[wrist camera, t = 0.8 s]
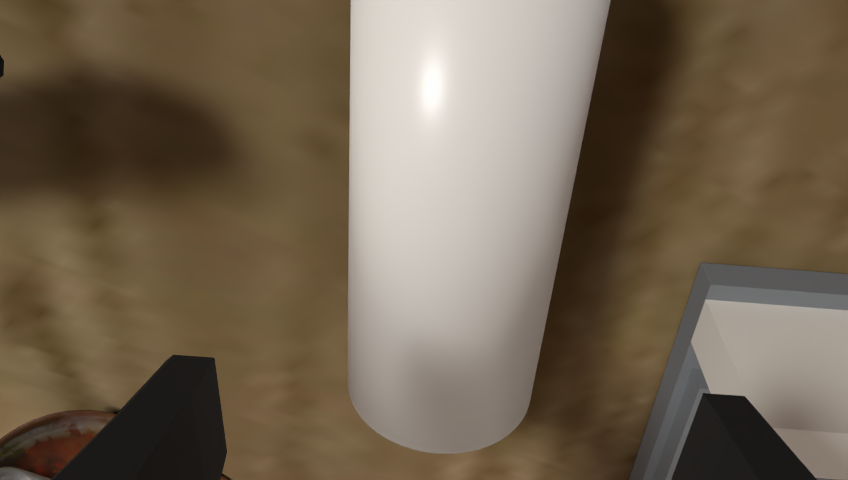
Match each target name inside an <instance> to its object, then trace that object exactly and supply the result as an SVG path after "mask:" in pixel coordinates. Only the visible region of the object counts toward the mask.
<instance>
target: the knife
mask: <svg viewBox="0 0 848 480" xmlns="http://www.w3.org/2000/svg"><path fill="white" fill-rule="evenodd" d="M3 70H4V60H3V59H2V57H1V55H0V77H2V76H3Z"/></svg>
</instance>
